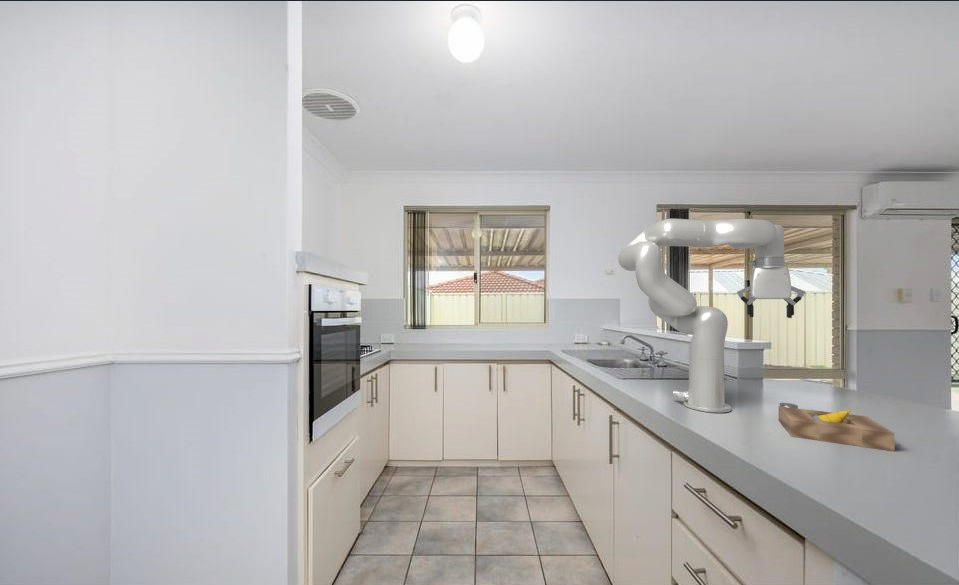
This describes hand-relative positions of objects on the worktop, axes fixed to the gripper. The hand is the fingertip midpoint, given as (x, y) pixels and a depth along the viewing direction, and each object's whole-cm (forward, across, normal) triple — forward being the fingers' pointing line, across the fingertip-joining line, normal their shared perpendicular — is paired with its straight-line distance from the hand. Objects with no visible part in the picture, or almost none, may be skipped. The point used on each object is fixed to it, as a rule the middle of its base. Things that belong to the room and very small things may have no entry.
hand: (770, 317), depth 119 cm
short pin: (+28, +2, -13) cm, 31 cm away
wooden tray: (+28, +8, -24) cm, 38 cm away
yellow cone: (+29, +8, -24) cm, 38 cm away
